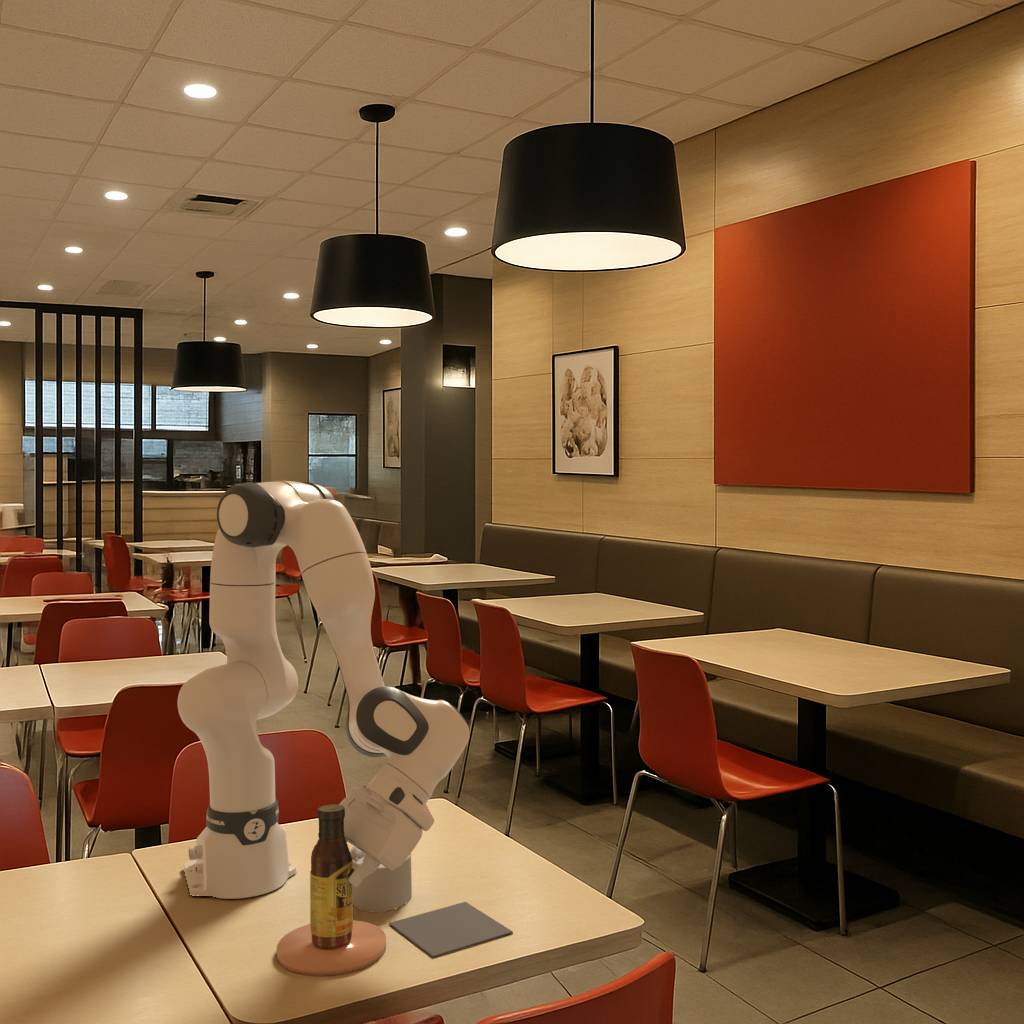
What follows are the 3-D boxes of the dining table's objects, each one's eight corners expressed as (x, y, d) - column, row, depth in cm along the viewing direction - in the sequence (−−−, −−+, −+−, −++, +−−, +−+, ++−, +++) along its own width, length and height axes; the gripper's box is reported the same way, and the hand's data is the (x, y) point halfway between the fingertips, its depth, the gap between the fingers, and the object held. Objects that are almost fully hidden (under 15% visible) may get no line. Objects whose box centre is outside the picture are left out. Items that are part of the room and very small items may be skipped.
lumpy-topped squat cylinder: (410, 880, 176) (409, 831, 176) (413, 910, 163) (412, 857, 163) (350, 884, 175) (349, 834, 175) (348, 914, 162) (347, 861, 162)
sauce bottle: (344, 952, 146) (342, 816, 145) (303, 949, 147) (301, 813, 147) (359, 933, 152) (357, 802, 152) (320, 930, 153) (319, 800, 153)
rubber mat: (389, 924, 158) (389, 922, 158) (465, 903, 165) (465, 901, 165) (433, 957, 146) (432, 955, 146) (512, 933, 154) (512, 931, 154)
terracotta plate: (261, 944, 151) (260, 936, 151) (358, 918, 160) (358, 911, 160) (301, 986, 138) (301, 978, 138) (405, 955, 147) (404, 947, 147)
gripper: (353, 769, 162) (296, 841, 157) (412, 800, 145) (351, 883, 140) (378, 792, 165) (323, 864, 160) (440, 825, 148) (381, 907, 142)
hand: (337, 873), depth 150 cm, fingers open, 8 cm apart
